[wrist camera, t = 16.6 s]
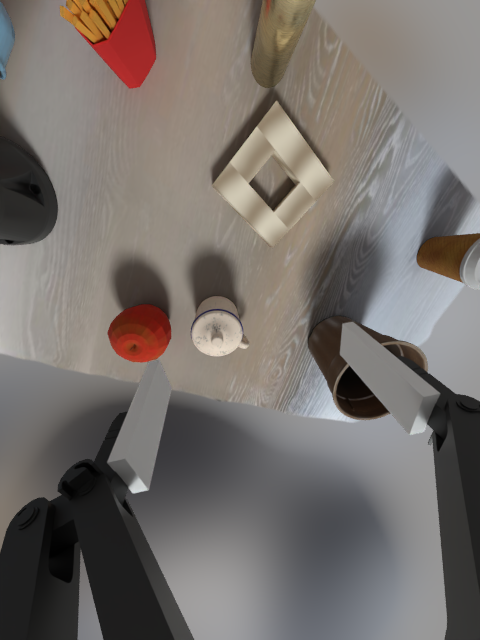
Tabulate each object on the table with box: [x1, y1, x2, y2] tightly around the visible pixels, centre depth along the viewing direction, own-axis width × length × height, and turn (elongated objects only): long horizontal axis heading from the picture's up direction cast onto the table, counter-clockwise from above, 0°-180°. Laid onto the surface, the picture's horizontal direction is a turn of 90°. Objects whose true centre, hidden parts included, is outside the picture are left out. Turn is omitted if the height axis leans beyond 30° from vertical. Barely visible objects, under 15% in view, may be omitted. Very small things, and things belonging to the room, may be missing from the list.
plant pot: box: [308, 316, 428, 420], centre depth 43 cm, size 16×16×16 cm
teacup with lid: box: [191, 296, 249, 356], centre depth 40 cm, size 12×9×12 cm
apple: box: [108, 304, 171, 362], centre depth 39 cm, size 10×10×12 cm
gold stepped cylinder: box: [251, 0, 316, 88], centre depth 23 cm, size 6×6×16 cm
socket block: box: [213, 101, 334, 248], centre depth 35 cm, size 14×14×2 cm
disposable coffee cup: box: [417, 233, 480, 290], centre depth 38 cm, size 10×10×12 cm
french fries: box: [60, 0, 156, 88], centre depth 23 cm, size 8×4×12 cm, turn 138°
